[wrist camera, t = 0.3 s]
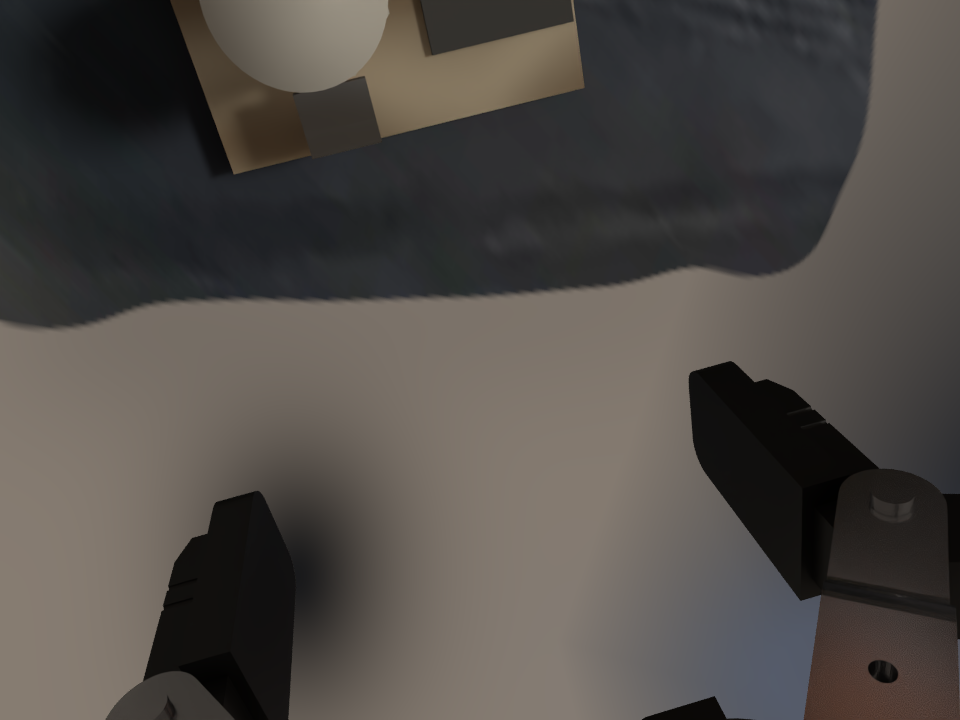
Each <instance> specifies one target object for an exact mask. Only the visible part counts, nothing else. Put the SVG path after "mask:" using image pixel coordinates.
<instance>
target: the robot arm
mask: <svg viewBox="0 0 960 720" xmlns="http://www.w3.org/2000/svg"><path fill="white" fill-rule="evenodd" d="M689 394H690V408H691V420H692V433H693V443H694V448H695V451H696V455H697V457H698V460H699V462H700V464H701V466H702V468H703V470H704V472H705V473H706V474H707V476H708V477H709V479H710V480H711V481H712V483H713V484H714V485H715V487H716V488H717V489H718V491H719V492H720V493H721V495H722V496H723V497H724V499H725V500H726V501H727V503H728V504H729V505H730V507H731V508H732V509H733V511H734V512H735V513H736V515H737V516H738V517H739V519H740V520H741V521H742V523H743V524H744V525H745V527H746V528H747V530H748V531H749V532H750V533H751V535H752V536H753V537H754V539H755V540H756V541H757V543H758V544H759V546H760V547H761V548H762V550H763V551H764V552H765V554H766V555H767V556H768V558H769V559H770V560H771V562H772V563H773V564H774V566H775V567H776V568H777V570H778V571H779V572H780V574H781V575H782V577H783V578H784V579H785V581H786V582H787V583H788V584H789V586H790V587H791V588H792V590H793V591H794V593H795V594H796V595H797V597H798V598H799V599H800V600H801V601H802V600H805V599H808V598H812V597H815V596H818V595H821V601H820V608H819V615H818V622H817V629H816V636H815V643H814V650H813V658H812V665H811V672H810V679H809V686H808V693H807V700H806V707H805V715H804V720H960V698H959V668H958V641H957V640H958V639H960V494H942V493H941V492H940V491H939V490H938V489H937V488H936V487H935V486H934V485H933V484H931V483H930V482H928V481H927V480H925V479H923V478H921V477H919V476H916V475H914V474H911V473H908V472H904V471H899V470H894V469H879V468H878V467H877V466H876V465H875V464H874V463H873V462H871V461H870V460H869V459H868V458H867V457H866V456H865V455H864V454H863V453H862V452H860V451H859V450H858V449H857V448H856V447H855V446H854V445H853V444H852V443H851V442H850V441H848V440H847V439H846V438H845V437H844V436H843V435H842V434H841V433H840V432H839V431H837V430H836V429H835V428H834V427H833V426H832V425H831V424H830V423H828V424H827V423H826V420H825V419H824V418H823V417H822V416H821V415H820V414H819V413H818V412H817V411H815V410H812V409H811V406H810V405H809V404H808V403H807V402H806V401H804V400H803V399H802V398H801V397H800V396H799V395H798V394H797V393H796V392H795V391H793V390H791V389H789V388H786V387H784V386H782V385H780V384H777V383H775V382H772V381H770V380H767V379H766V380H762V381H758V382H754V381H753V380H752V379H751V378H750V377H749V376H747V374H746V373H744V372H743V371H742V370H741V369H740V368H739V367H738V366H737V365H736V364H735V363H734V362H732V361H729V362H726V363H722V364H718V365H714V366H711V367H707V368H704V369H700V370H696V371H693V372H691V373H690V375H689ZM168 587H169V591H167V593H166V597H165V601H164V604H163V607H164V610H163V611H162V612H161V616H160V619H159V623H158V627H157V631H156V634H155V638H154V642H153V646H152V649H151V653H150V657H149V661H148V664H147V668H146V672H145V676H144V680H143V682H141V683H140V684H138V685H137V686H135V687H134V688H133V689H131V690H130V691H129V692H128V693H127V694H125V695H124V696H123V697H122V698H121V699H120V700H119V702H118V703H117V704H116V705H115V706H114V707H113V709H112V710H111V712H110V713H109V715H108V716H107V718H106V720H288V715H289V698H290V681H291V663H292V646H293V629H294V611H295V595H296V579H295V572H294V567H293V563H292V560H291V556H290V553H289V551H288V549H287V547H286V544H285V542H284V540H283V538H282V536H281V533H280V531H279V529H278V527H277V525H276V522H275V520H274V518H273V516H272V514H271V511H270V509H269V507H268V505H267V503H266V501H265V498H264V497H263V495H262V494H261V493H260V492H259V491H254V492H251V493H248V494H244V495H240V496H236V497H233V498H229V499H226V500H222V501H218V502H216V503H215V505H214V507H213V511H212V516H211V521H210V525H209V530H208V534H205V535H201V536H198V537H194V538H192V539H191V540H190V542H189V543H188V545H187V546H186V547H185V549H184V550H183V551H182V553H181V554H180V556H179V557H178V559H177V560H176V561H175V563H174V567H173V570H172V574H171V578H170V582H169V585H168ZM642 720H751V719H738V718H737V719H726V717H725V715H724V713H723V711H722V709H721V707H720V705H719V703H718V702H717V700H716V698H715V696H714V697H710V698H707V699H704V700H701V701H698V702H694V703H691V704H687V705H684V706H681V707H677V708H675V709H671V710H668V711H664V712H661V713H658V714H654V715H651V716H648V717H645V718H644V719H642Z"/></svg>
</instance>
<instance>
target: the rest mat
mask: <svg viewBox="0 0 960 720" xmlns="http://www.w3.org/2000/svg"><path fill="white" fill-rule="evenodd" d="M420 3H421V8H422V12H423V17H424V21H425V26H426V30H427V35H428V39H429V44H430V49H431V53H432V55H437V54H441V53H445V52H449V51H453V50H457V49H462V48H466V47H470V46H474V45H478V44H482V43H486V42H491V41H495V40H499V39H503V38H507V37H511V36H515V35H520V34H524V33H528V32H532V31H536V30H540V29H544V28H549V27H553V26H557V25H561V24H565V23H569V22H573V21H574V18H573V11H572V3H571V0H420Z"/></svg>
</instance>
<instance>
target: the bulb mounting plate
mask: <svg viewBox="0 0 960 720" xmlns="http://www.w3.org/2000/svg"><path fill="white" fill-rule="evenodd" d="M170 1H171V4H172V7H173V9H174V12H175V15H176V18H177V20H178V23H179V26H180V29H181V31H182V34H183V37H184V39H185V42H186V45H187V48H188V50H189V53H190V56H191V59H192V61H193V64H194V67H195V69H196V72H197V75H198V78H199V80H200V83H201V86H202V89H203V91H204V94H205V97H206V99H207V102H208V105H209V108H210V110H211V113H212V116H213V119H214V121H215V124H216V127H217V130H218V132H219V135H220V138H221V140H222V143H223V146H224V149H225V151H226V154H227V157H228V160H229V162H230V165H231V168H232V170H233V173H234V174H237V173H241V172H245V171H249V170H254V169H258V168H262V167H266V166H270V165H274V164H278V163H282V162H286V161H290V160H294V159H298V158H302V157H306V156H310V155H311V156H312V159H315V158H320V157H324V156H328V155H332V154H336V153H340V152H344V151H348V150H352V149H356V148H360V147H364V146H368V145H372V144H376V143H380V142H382V139H381V138H383V137H387V136H391V135H395V134H399V133H403V132H407V131H411V130H415V129H419V128H423V127H428V126H432V125H436V124H440V123H444V122H448V121H452V120H456V119H460V118H464V117H468V116H472V115H476V114H480V113H484V112H488V111H492V110H496V109H500V108H504V107H508V106H513V105H517V104H521V103H525V102H529V101H533V100H537V99H541V98H545V97H549V96H553V95H557V94H561V93H565V92H569V91H573V90H577V89H581V88H584V81H583V73H582V65H581V58H580V50H579V42H578V35H577V27H576V19H575V12H574V4H573V0H571V3H572V11H573V18H574V21H573V22H569V23H565V24H561V25H557V26H553V27H549V28H544V29H540V30H536V31H532V32H528V33H524V34H520V35H515V36H511V37H507V38H503V39H499V40H495V41H491V42H486V43H482V44H478V45H474V46H470V47H466V48H462V49H457V50H453V51H449V52H445V53H441V54H437V55H432V53H431V49H430V44H429V39H428V35H427V30H426V26H425V21H424V17H423V12H422V8H421V3H420V0H388V9H389V13H390V14H389V15H388V17H387V19H386V24H385V28H384V31H383V34H382V37H381V40H380V42H379V44H378V46H377V48H376V50H375V52H374V53H373V55H372V56H371V58H370V59H369V60H368V62H367V63H366V64H365V65H364V66H363V68H362V69H360V70H359V71H358V72H357V74H356V76H353V77H351V78H349V80H346V81H345V82H343V83H341V84H339V85H337V86H335V87H332V88H329V89H326V90H322V91H316V92H304V93H299V92H289V91H284V90H280V89H276V88H273V87H271V86H268V85H265V84H263V83H261V82H259V81H258V80H256V79H254V78H252V77H251V76H249V75H248V74H246V73H245V72H243V71H242V70H241V69H240V68H239V67H238V66H236V65H235V64H234V63H233V62H232V61H231V60H230V59H229V58H228V56H227V55H226V54H225V53H224V52H223V51H222V49H221V48H220V46H219V45H218V44H217V42H216V41H215V39H214V37H213V35H212V34H211V32H210V30H209V28H208V25H207V23H206V21H205V18H204V16H203V12H202V9H201V5H200V1H199V0H170Z"/></svg>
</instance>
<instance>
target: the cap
mask: <svg viewBox="0 0 960 720" xmlns="http://www.w3.org/2000/svg"><path fill="white" fill-rule="evenodd" d="M199 1H200V5H201V9H202V12H203V16H204V18H205V21H206V23H207V25H208V28H209V30H210V32H211V34H212V35H213V37H214V39H215V41H216V42H217V44H218V45H219V46H220V48H221V49H222V51H223V52H224V53H225V54H226V55H227V56H228V58H229V59H230V60H231V61H232V62H233V63H234V64H235V65H236V66H238V67H239V68H240V69H241V70H242V71H243V72H245V73H246V74H248V75H249V76H251V77H252V78H254V79H256V80H258V81H259V82H261V83H263V84H265V85H268V86H271V87H273V88H276V89H280V90H284V91H289V92H299V93H304V92H316V91H322V90H326V89H329V88H332V87H335V86H337V85H339V84H341V83H343V82H345V81H346V80H349V78H351V77H353V76H356V74H357V72H358V71H359V70H360V69H362V68H363V66H364V65H365V64H366V63H367V62H368V60H369V59H370V58H371V56H372V55H373V53H374V52H375V50H376V48H377V46H378V44H379V42H380V40H381V37H382V34H383V31H384V28H385V24H386V19H387V17H388V15H389V14H390V13H389V9H388V0H199Z"/></svg>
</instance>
